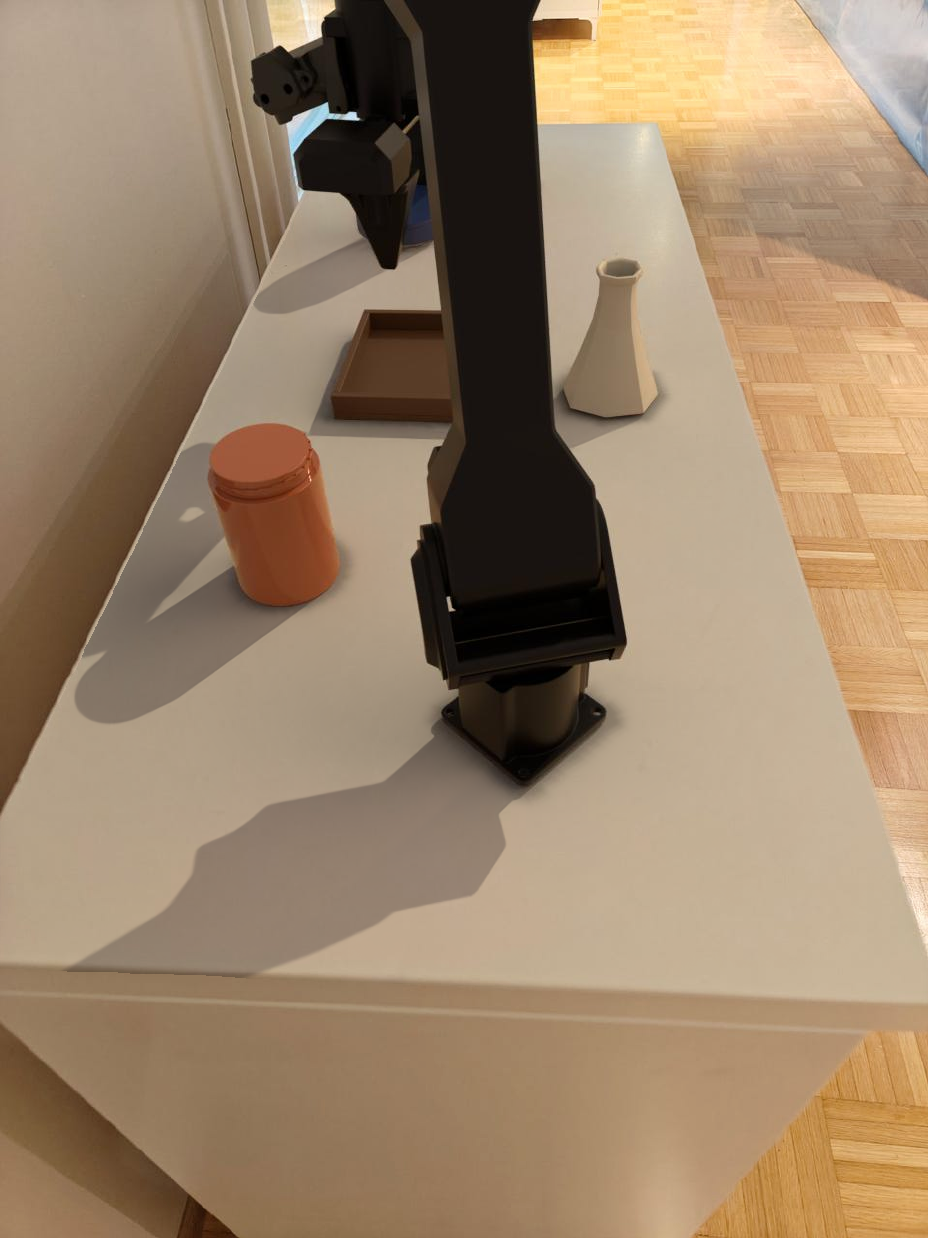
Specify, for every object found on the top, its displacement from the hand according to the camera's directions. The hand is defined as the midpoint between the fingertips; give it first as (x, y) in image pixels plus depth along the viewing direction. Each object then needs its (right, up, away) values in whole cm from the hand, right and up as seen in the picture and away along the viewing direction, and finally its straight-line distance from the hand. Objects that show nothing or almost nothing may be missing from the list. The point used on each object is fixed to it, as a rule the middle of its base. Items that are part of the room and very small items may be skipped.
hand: (405, 246), depth 65 cm
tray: (+1, -7, +8) cm, 11 cm away
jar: (-7, -24, -7) cm, 26 cm away
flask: (+15, -10, +5) cm, 19 cm away
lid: (0, +2, -2) cm, 3 cm away
